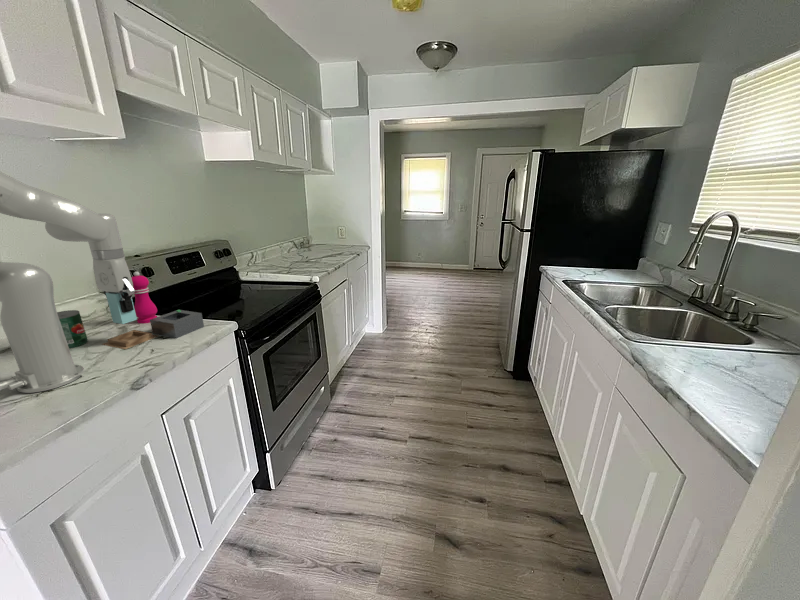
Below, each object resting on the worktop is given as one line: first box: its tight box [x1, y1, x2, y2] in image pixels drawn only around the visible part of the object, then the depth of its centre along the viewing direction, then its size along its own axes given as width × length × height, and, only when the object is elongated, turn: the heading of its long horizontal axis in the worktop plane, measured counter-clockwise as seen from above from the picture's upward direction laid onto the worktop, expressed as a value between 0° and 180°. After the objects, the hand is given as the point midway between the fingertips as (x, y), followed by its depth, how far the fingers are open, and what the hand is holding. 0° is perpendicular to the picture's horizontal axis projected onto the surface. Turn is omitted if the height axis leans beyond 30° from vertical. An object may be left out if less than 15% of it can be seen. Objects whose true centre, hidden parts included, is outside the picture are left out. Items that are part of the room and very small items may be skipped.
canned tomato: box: [57, 309, 89, 349], centre depth 104 cm, size 8×8×11 cm
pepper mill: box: [131, 271, 158, 325], centre depth 123 cm, size 7×7×20 cm
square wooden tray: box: [101, 329, 159, 350], centre depth 109 cm, size 11×11×2 cm
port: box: [149, 309, 205, 339], centre depth 117 cm, size 11×11×6 cm
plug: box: [105, 288, 138, 325], centre depth 105 cm, size 4×4×11 cm
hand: (122, 309), depth 106 cm, fingers closed on plug, 4 cm apart
